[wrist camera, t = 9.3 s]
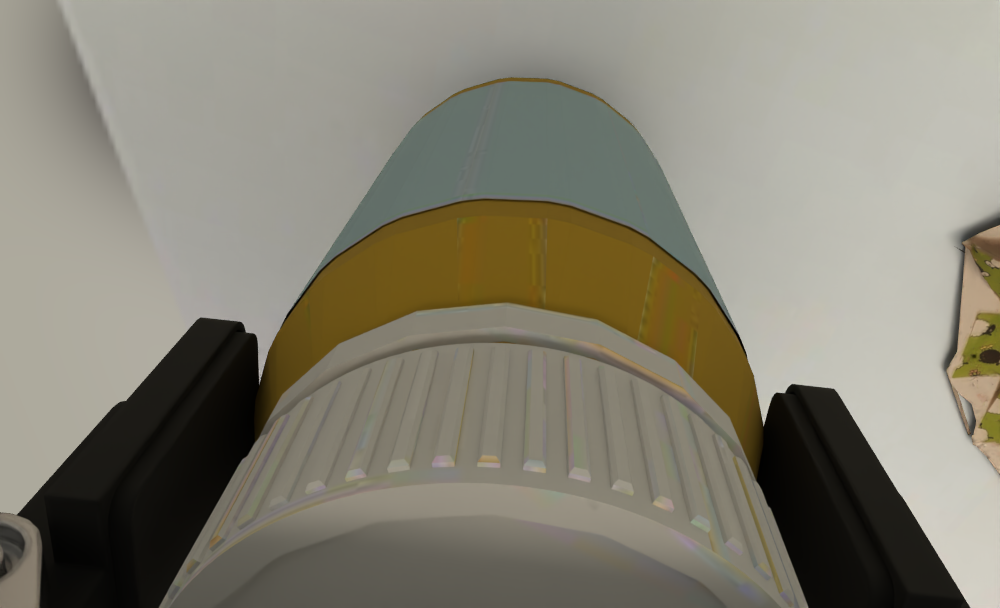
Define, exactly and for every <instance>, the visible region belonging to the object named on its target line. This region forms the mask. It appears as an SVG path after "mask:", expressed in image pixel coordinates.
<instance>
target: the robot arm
mask: <svg viewBox="0 0 1000 608" xmlns="http://www.w3.org/2000/svg"><path fill="white" fill-rule="evenodd" d="M258 388H259V368H258V341H257V337H256V335H255V334H253V333H246V332H245V328H244V325H243V324H242V322H237V321H228V320H219V319H210V318H199V319H198V320H197V321H196V322H195V323H194V324H193V325H192V326H191V327H190V329H189V330H188V331H187V332H186V333H185V334H184V335H183V337H182V338H181V339H180V340H179V341H178V342H177V343H176V345H175V346H174V347H173V348H172V349H171V350H170V351H169V353H168V354H167V355H166V356H165V357H164V358H163V359H162V361H161V362H160V363H159V364H158V365H157V366H156V367H155V369H154V370H153V371H152V372H151V373H150V374H149V375H148V377H147V378H146V379H145V380H144V381H143V382H142V383H141V384H140V386H139V387H138V388H137V389H136V390H135V391H134V393H133V394H132V395H131V396H130V397H129V398H128V399H127V401H123V402H119V403H118V404H117V405H115V406H114V407H113V408H112V409H111V410H110V412H108V413H107V415H106V416H105V417H104V418H103V419H102V420H101V421H100V422H99V424H98V425H97V426H96V427H95V428H94V429H93V430H92V431H91V433H90V434H89V435H88V436H87V437H86V438H85V439H84V440H83V442H82V443H81V444H80V445H79V446H78V447H77V448H76V449H75V450H74V452H73V453H72V454H71V455H70V456H69V457H68V458H67V459H66V460H65V462H64V463H63V464H62V465H61V466H60V467H59V468H58V469H57V471H56V472H55V473H54V474H53V475H52V476H51V477H50V478H49V480H48V481H47V482H46V483H45V484H44V485H43V486H42V487H41V489H40V490H39V491H38V492H37V493H36V494H35V495H34V497H33V498H32V499H31V500H30V501H29V502H28V503H27V504H26V505H25V507H24V508H23V509H22V510H21V511H20V512H19V513H18V514H17V515H14V514H10V513H1V512H0V608H159V606H160V605H161V603H162V601H163V599H164V597H165V596H166V594H167V592H168V590H169V588H170V586H171V584H172V583H173V581H174V579H175V577H176V576H177V574H178V572H179V570H180V568H181V567H182V565H183V563H184V561H185V560H186V558H187V556H188V554H189V553H190V551H191V549H192V547H193V545H194V544H195V542H196V540H197V538H198V537H199V535H200V533H201V531H202V529H203V528H204V526H205V524H206V522H207V521H208V519H209V517H210V515H211V514H212V512H213V510H214V508H215V506H216V505H217V503H218V501H219V499H220V498H221V496H222V494H223V492H224V491H225V489H226V487H227V485H228V483H229V482H230V480H231V478H232V476H233V475H234V473H235V471H236V469H237V467H238V466H239V464H240V463H241V461H242V459H244V458H245V457H247V456H248V454H249V452H250V451H251V449H252V447H253V445H254V443H255V432H254V411H255V400H256V396H257V392H258ZM756 482H757V483H758V484H759V486H760V488H761V490H762V492H763V495H764V497H765V500H766V503H767V505H768V507H770V508H771V511H772V514H773V516H774V519H775V521H776V524H777V527H778V529H779V532H780V534H781V537H782V540H783V542H784V545H785V547H786V550H787V553H788V555H789V558H790V561H791V563H792V566H793V568H794V571H795V574H796V576H797V579H798V581H799V584H800V587H801V589H802V592H803V595H804V597H805V600H806V602H807V605H808V608H970V607H969V605H968V603H967V602H966V600H965V598H964V597H963V595H962V594H961V592H960V590H959V589H958V587H957V585H956V584H955V582H954V581H953V579H952V577H951V576H950V574H949V572H948V571H947V569H946V568H945V566H944V564H943V563H942V561H941V559H940V558H939V556H938V554H937V553H936V551H935V550H934V548H933V546H932V545H931V543H930V541H929V540H928V538H927V537H926V535H925V533H924V532H923V530H922V528H921V527H920V525H919V523H918V522H917V520H916V519H915V517H914V515H913V514H912V512H911V510H910V509H909V507H908V506H907V504H906V502H905V501H904V499H903V497H902V496H901V495H900V494H899V493H898V491H897V489H896V488H895V486H894V485H893V483H892V481H891V480H890V478H889V476H888V475H887V473H886V471H885V470H884V468H883V467H882V465H881V463H880V462H879V460H878V458H877V457H876V455H875V453H874V452H873V450H872V449H871V447H870V445H869V444H868V442H867V440H866V439H865V437H864V435H863V434H862V432H861V431H860V429H859V427H858V426H857V424H856V422H855V421H854V419H853V417H852V416H851V414H850V413H849V411H848V409H847V408H846V406H845V404H844V403H843V401H842V399H841V398H840V396H839V395H838V393H837V392H836V391H835V390H834V389H831V388H822V387H813V386H804V385H796V384H792V385H790V386H789V387H788V389H787V390H786V392H785V393H776V394H774V396H773V397H772V400H771V403H770V406H769V410H768V413H767V417H766V420H765V424H764V445H763V450H762V455H761V461H760V466H759V471H758V476H757V481H756Z"/></svg>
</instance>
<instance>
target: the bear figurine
mask: <svg viewBox="0 0 1000 608" xmlns="http://www.w3.org/2000/svg"><path fill="white" fill-rule="evenodd" d="M962 244H963V245H964V246H965V252H964V251H963V252H964V253H965V261H964V274H963V286H962V299H961V311H960V323H959V336H958V348H957V353H956V354H955V356H954V358H953V359H952V361H951V363H950V365H949V366H948V368H947V370H946V371H947V374H948V377H949V380H950V383H951V386H952V389H953V392H954V395H955V398H956V401H957V404H958V406H959V409H960V412H961V415H962V418H963V421H964V424H965V427H966V430H967V433H968V435H969V434H971V432H970V429H969V426H968V423H967V420H966V417H965V414H964V411H963V408H962V404H961V401H960V398H959V395H958V393H959V394H960V395H961V396H962V397H964V398H965V399H966V400H967V401H969V402H970V403H971V404H972V407H973V411H974V414H975V418H976V427H975V430H974V435H972V442H973V445H975V446H977V447H978V448H979V449H980V450H981V451H982V452H983V453H984V454H985V455H986V456H987V458H988V459H989V460H990V462H991V463H992V465H993V466H994V467H995V469H996V470H997V471H998V473H999V474H1000V225H998V226H996V227H993V228H991V229H988V230H986V231H983V232H981V233H978V234H977V235H975V236H973V237H971V238H969V239H968V240H966V241H964V242H962ZM954 247H955V246H954ZM959 250H960V249H959ZM961 251H962V250H961Z"/></svg>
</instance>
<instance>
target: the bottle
mask: <svg viewBox="0 0 1000 608" xmlns="http://www.w3.org/2000/svg"><path fill="white" fill-rule="evenodd" d="M254 432H255V443H254V445H253V447H252V449H251V451H250V452H249V454H248V456H247V457H245V458H244V459H242V461H241V463H240V464H239V466H238V467H237V469H236V471H235V473H234V475H233V476H232V478H231V480H230V482H229V483H228V485H227V487H226V489H225V491H224V492H223V494H222V496H221V498H220V499H219V501H218V503H217V505H216V506H215V508H214V510H213V512H212V514H211V515H210V517H209V519H208V521H207V522H206V524H205V526H204V528H203V529H202V531H201V533H200V535H199V537H198V538H197V540H196V542H195V544H194V545H193V547H192V549H191V551H190V553H189V554H188V556H187V558H186V560H185V561H184V563H183V565H182V567H181V568H180V570H179V572H178V574H177V576H176V577H175V579H174V581H173V583H172V584H171V586H170V588H169V590H168V592H167V594H166V596H165V597H164V599H163V601H162V603H161V605H160V606H159V608H808V605H807V602H806V600H805V597H804V595H803V592H802V589H801V587H800V584H799V581H798V579H797V576H796V574H795V571H794V568H793V566H792V563H791V561H790V558H789V555H788V553H787V550H786V547H785V545H784V542H783V540H782V537H781V534H780V532H779V529H778V527H777V524H776V521H775V519H774V516H773V514H772V511H771V508H770V507H768V505H767V503H766V500H765V497H764V495H763V492H762V490H761V488H760V486H759V484H758V483H757V482H756V481H757V476H758V471H759V466H760V461H761V455H762V450H763V445H764V427H763V421H762V416H761V411H760V406H759V401H758V395H757V390H756V385H755V380H754V375H753V373H752V370H751V368H750V365H749V363H748V360H747V354H746V351H745V349H744V346H743V344H742V341H741V339H740V336H739V334H738V332H737V330H736V328H735V325H734V323H733V321H732V319H731V317H730V315H729V313H728V310H727V308H726V306H725V304H724V302H723V300H722V297H721V295H720V293H719V291H718V289H717V287H716V285H715V282H714V280H713V278H712V276H711V274H710V272H709V270H708V267H707V265H706V263H705V261H704V259H703V257H702V255H701V252H700V250H699V248H698V246H697V244H696V242H695V240H694V237H693V235H692V233H691V231H690V229H689V227H688V225H687V222H686V220H685V218H684V216H683V214H682V212H681V210H680V207H679V205H678V203H677V201H676V199H675V197H674V195H673V192H672V190H671V188H670V186H669V184H668V182H667V180H666V177H665V175H664V173H663V171H662V169H661V167H660V165H659V163H658V162H657V160H656V158H655V157H654V155H653V154H652V152H651V150H650V149H649V147H648V145H647V144H646V142H645V141H644V139H643V137H642V136H641V135H640V134H639V132H638V131H637V129H636V128H635V127H634V126H633V125H632V124H631V123H630V121H628V120H627V119H626V118H625V117H623V116H622V115H621V114H620V113H619V112H617V111H616V110H615V109H614V108H612V107H611V106H610V105H609V104H608V103H606V102H605V101H604V100H602V99H601V98H599V97H597V96H595V95H594V94H592V93H589V92H586V91H584V90H581V89H578V88H576V87H573V86H571V85H568V84H565V83H563V82H560V81H555V80H550V79H540V78H513V77H511V78H503V79H497V80H494V81H490V82H487V83H483V84H480V85H476V86H473V87H470V88H466V89H464V90H462V91H459V92H457V93H455V94H453V95H452V96H451V97H449V98H448V99H446V100H445V101H443V102H442V103H440V104H439V105H438V106H436V107H435V108H433V109H432V110H430V111H429V112H428V113H426V114H425V115H424V116H423V117H422V118H421V119H420V120H419V121H418V122H417V123H416V124H415V125H414V126H413V127H412V128H411V130H410V131H409V133H408V134H407V135H406V137H405V138H404V139H403V141H402V142H401V143H400V145H399V146H398V148H397V149H396V150H395V152H394V153H393V154H392V156H391V157H390V159H389V160H388V162H387V163H386V165H385V166H384V168H383V170H382V171H381V173H380V174H379V176H378V177H377V179H376V180H375V182H374V183H373V185H372V186H371V188H370V189H369V191H368V192H367V194H366V195H365V197H364V198H363V200H362V201H361V203H360V204H359V206H358V208H357V209H356V211H355V212H354V214H353V215H352V217H351V218H350V220H349V221H348V223H347V224H346V226H345V227H344V229H343V230H342V232H341V233H340V235H339V236H338V238H337V239H336V241H335V242H334V244H333V245H332V247H331V249H330V250H329V252H328V253H327V255H326V256H325V258H324V259H323V261H322V262H321V264H320V265H319V267H318V268H317V270H316V271H315V273H314V274H313V276H312V277H311V279H310V280H309V282H308V283H307V285H306V287H305V288H304V290H303V291H302V293H301V294H300V296H299V297H298V299H297V300H296V302H295V303H294V305H293V306H292V308H291V309H290V311H289V312H288V314H287V316H286V318H285V320H284V322H283V324H282V326H281V328H280V330H279V332H278V333H277V335H276V337H275V339H274V341H273V343H272V345H271V347H270V349H269V351H268V355H267V359H266V362H265V366H264V370H263V373H262V377H261V381H260V385H259V388H258V392H257V396H256V400H255V411H254Z"/></svg>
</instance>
